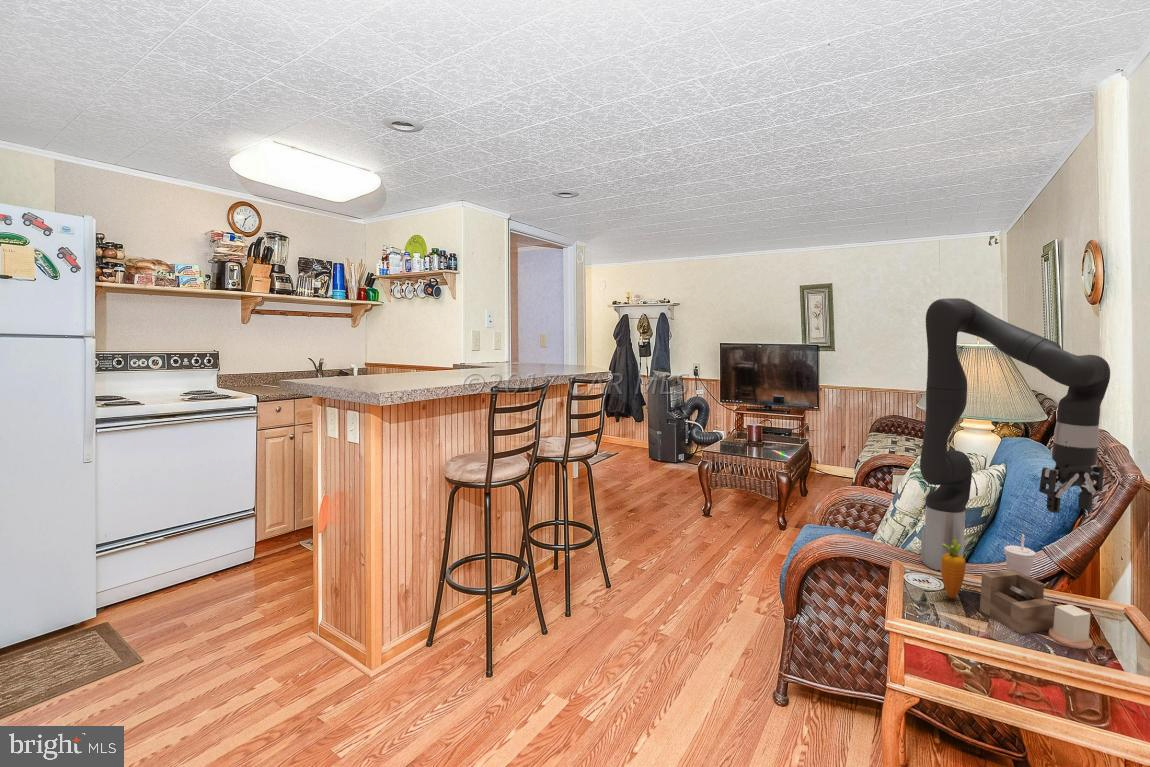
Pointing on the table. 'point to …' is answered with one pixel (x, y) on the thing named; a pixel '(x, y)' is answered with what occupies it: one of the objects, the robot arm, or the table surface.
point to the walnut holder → (1016, 601)
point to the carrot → (952, 569)
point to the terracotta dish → (1068, 643)
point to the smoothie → (1019, 558)
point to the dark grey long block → (1024, 594)
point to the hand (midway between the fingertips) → (1068, 510)
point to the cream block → (1071, 623)
